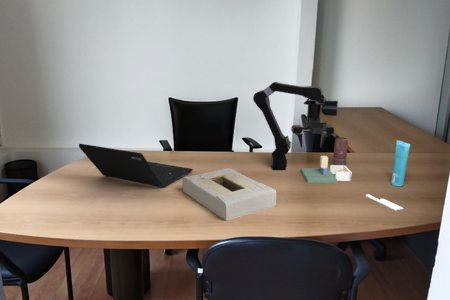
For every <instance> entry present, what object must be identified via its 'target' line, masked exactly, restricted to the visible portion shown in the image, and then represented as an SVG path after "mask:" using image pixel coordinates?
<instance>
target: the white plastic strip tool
mask: <svg viewBox="0 0 450 300" xmlns="http://www.w3.org/2000/svg"><path fill="white" fill-rule="evenodd" d="M365 197H366V198H369V199H371V200H373V201H375V202H377V203H379V204H381V205H383V206H386V207H388V208H389V209H392V210H394V211H399V210H404V209H405V208H404V207H403V206H400V205H398V204H396V203H393V202H391V201H389V200H387V199H385V198H382V197H381V198H380V199H379V198H377V197H376V196H373V195H371V194H365Z"/></svg>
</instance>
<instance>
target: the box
mask: <svg viewBox="0 0 450 300" xmlns="http://www.w3.org/2000/svg"><path fill="white" fill-rule="evenodd" d="M182 191H183V193H184V194H186V195H187V196H189V197H191V198H192V199H194V201H197V202H198V203H200V204H201V205H202V206H204V207H205V208H207V209H208V210H210V212H213V213H214V214H215V215H217V216H218V217H219V218H221V219H223V220H224V221H225V222H227V221H231V220H234V219H237V218H240V217H245V216H247V215H250V214H255V213H257V212H260V211H265V210H267V209H271V208H274V207H276V206H277V191H276V189H274V188H273V187H271V186H268V185H265V184H264V183H261V182H258V181H256V180H254V179H252V178H250V177H249V176H246V175H244V174H243V173H240V172H239V171H236V170H235V169H233V168H232V167H226V168H223V169H218V170H213V171H208V172H204V173H198V174H194V175H188V176H183V177H182Z"/></svg>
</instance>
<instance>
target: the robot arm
mask: <svg viewBox="0 0 450 300" xmlns="http://www.w3.org/2000/svg"><path fill="white" fill-rule="evenodd" d="M275 92H279V93H285V94H291V95H297V96H302V97H304V98H306V101H304V102H303V105H307V113H306V114H307V115H306V124H305V125H306V126H301V125H300V124H293V125H292V126H291V127H290V128H291V129H290V131H291V132H292V133H293V134H294V135H295V136H297V139H298V143H299V145H300V147H301V148H303V132H310V134H311V135H315V134H317V135H321V136H320V143H319V144H320V145H319V146H320V148H323V145H324V143H325V142H326V139H327V138H328V137H330V136H331V135H334V134H335V128H334V126H332V125H330V124H329V125H328V124H327V122H321V113H322V115H323V116H332V117H337V116H338V112H339V111H338V110H339V107H338V106H339V105H338V102H339V101H338V100H327V99H326V98H325V97H326V96H324V94H323V89H322V88H321V86H318V85H307V86H302V85H301V86H300V85H295V84H288V83H282V82H278V81H274V82H271V84H269V86H267V87H266V88H265V89H263V90H262V89H261V90H258V91H257V92H256V93H254V94H253V97H252V99H253V102H254V103H255V105H256V106H257V108H258V109H259V110H260V111H261V112H262V115H263V116H264V119H265V121H266V123H267V125H268V127H269V130H270V132H271V134H272V136H273V139H274V146H275V148H274V150H273V151H272V152H271V165H270V167H271V169H272V170H273V171H276V170H277V171H280V170H281V171H282V170H283V171H286V170H287V166H288V159H287V156H286V155H287V154H288V153H289V152H290V149H291V148H292V147H291V146H292V145H291V144H292V141H291V140H290V137H289V135H286V136H285V134H284V133H283V132H282V130H281V128H280V126H279V123H278V121H277V118H276V116H275V115H274V112H273V110H272V107H271V101H270V96H271V95H273V94H274V93H275Z"/></svg>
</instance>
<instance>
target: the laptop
mask: <svg viewBox="0 0 450 300" xmlns="http://www.w3.org/2000/svg"><path fill="white" fill-rule="evenodd" d="M78 148H79V149H80V150H81V151H82V152H83V154H84V155H85V156H86V157H87V158H88V159H89V161H90V163H92V164H93V165H94V166H95V168H96V169H97V170H98V171H99V173H100V174H101V175H102V176H104V177H107V178H108V177H110V178H115V179H119V180H124V181H129V182H134V183H140V184H144V185H150V186H155V187H159V188H165V187H167V186H169V185H172V183H174V182H176V181H178V180H179V179H181V178H184V177H186V175H188V174H189V173H191V172H192V171H194V169H193V168H190V167H183V166H177V165H173V164H172V165H171V164H165V163H159V162H152V161H147V159H146V157H145V156H144V154H143V153H142V152H138V151H137V152H136V151H130V150H129V151H128V150H124V149H116V148H110V147H105V146H98V145H91V144H84V143H78Z"/></svg>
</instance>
